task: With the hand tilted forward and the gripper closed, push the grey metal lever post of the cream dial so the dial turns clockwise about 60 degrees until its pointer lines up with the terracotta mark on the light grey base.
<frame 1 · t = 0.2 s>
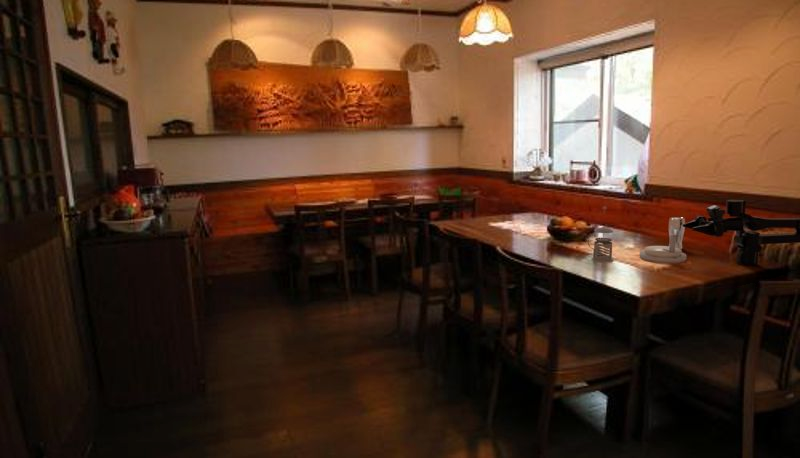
hand: (687, 227, 210), 17 cm above the table, tool horizontal, fingers open, 9 cm apart
beer glass: (675, 248, 243), on the table
french press: (600, 260, 226), on the table
dial: (663, 242, 223), point 7 cm above the table, hinge at 0.0°
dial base: (662, 257, 225), on the table
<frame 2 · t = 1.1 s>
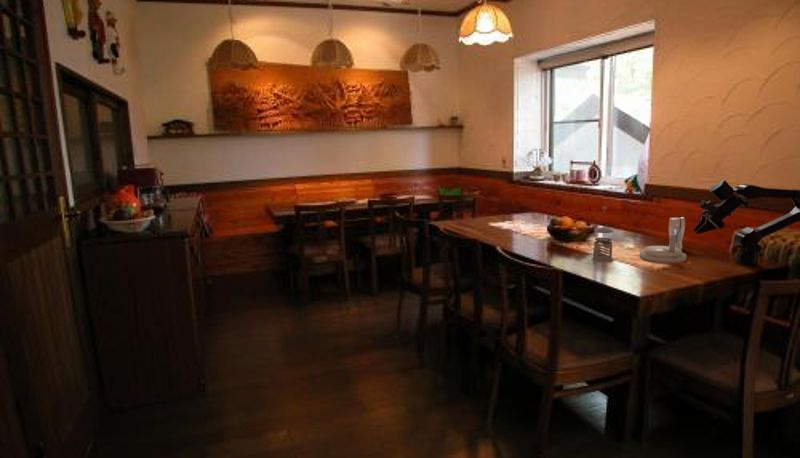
hand: (695, 231, 213), 14 cm above the table, tool tilted 45°, fingers open, 6 cm apart
nothing on the table moved.
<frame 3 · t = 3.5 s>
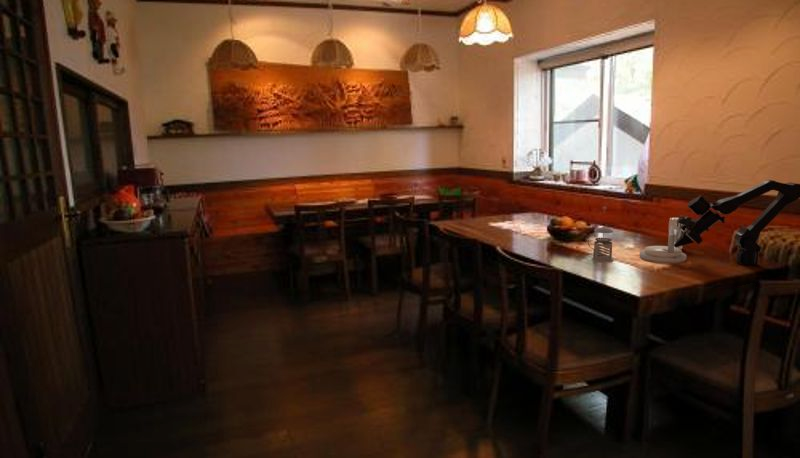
hand: (674, 246, 217), 7 cm above the table, tool tilted 45°, fingers closed, pressing on dial
dial: (663, 242, 223), point 7 cm above the table, hinge at 6.1°, touching gripper
everything else where it was.
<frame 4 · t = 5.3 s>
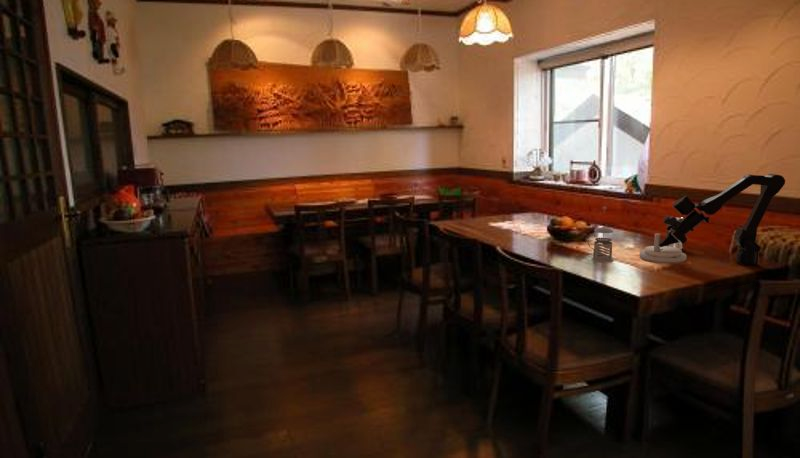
hand: (659, 246, 218), 7 cm above the table, tool tilted 45°, fingers closed
dial: (663, 242, 223), point 7 cm above the table, hinge at 60.5°, touching gripper
everything else where it was.
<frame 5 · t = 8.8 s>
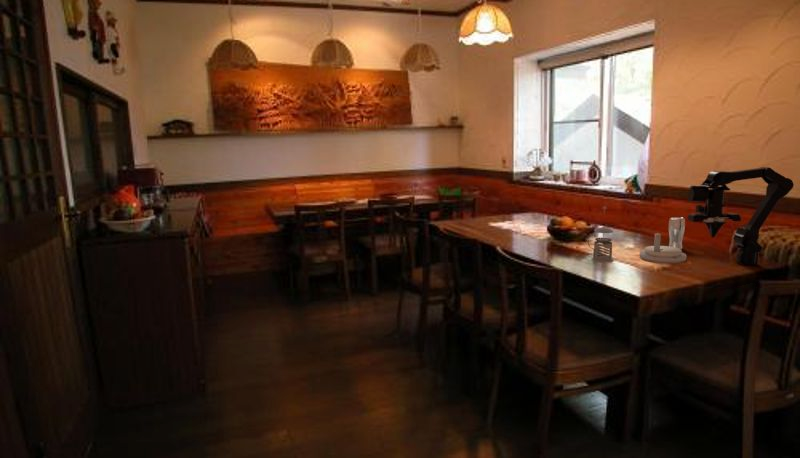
hand: (712, 237, 209), 12 cm above the table, tool pointing down, fingers closed
dial: (663, 242, 223), point 7 cm above the table, hinge at 60.5°
everything else where it was.
at the end: dial at +60° (first picture: +0°) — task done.
